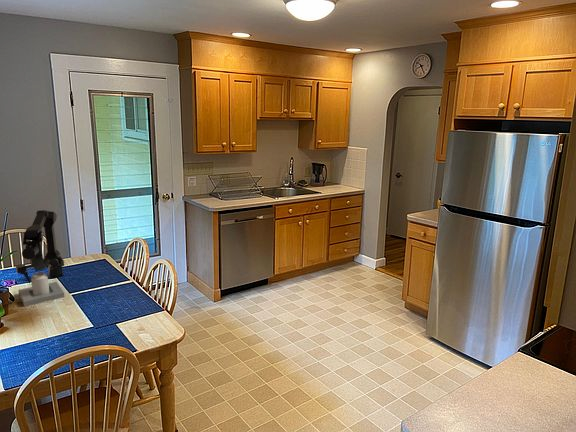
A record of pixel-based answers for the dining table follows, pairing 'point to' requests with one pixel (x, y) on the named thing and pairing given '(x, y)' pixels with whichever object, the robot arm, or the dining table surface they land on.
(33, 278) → the can
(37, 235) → the robot arm
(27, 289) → the pocket frame
